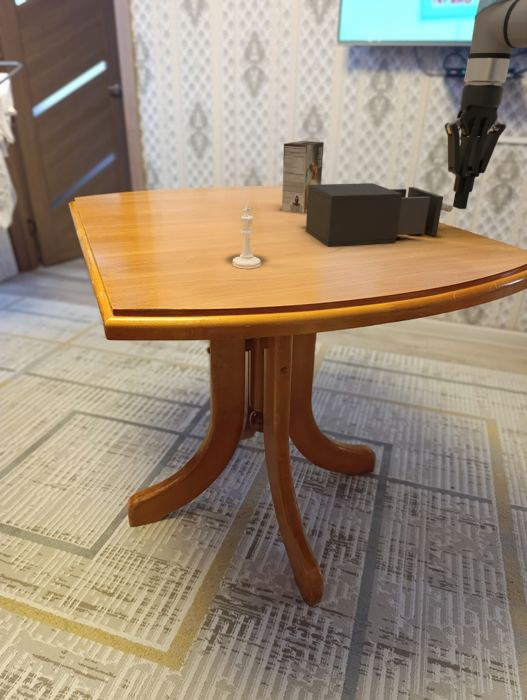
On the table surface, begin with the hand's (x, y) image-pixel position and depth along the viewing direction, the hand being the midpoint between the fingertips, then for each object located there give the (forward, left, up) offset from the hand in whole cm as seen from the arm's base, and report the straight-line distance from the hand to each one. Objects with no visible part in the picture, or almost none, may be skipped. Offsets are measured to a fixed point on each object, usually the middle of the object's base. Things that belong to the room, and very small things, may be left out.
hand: (459, 207), depth 110 cm
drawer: (+10, +9, -4) cm, 14 cm away
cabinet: (+19, +16, -5) cm, 26 cm away
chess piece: (+30, +43, -5) cm, 53 cm away
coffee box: (+37, -2, -5) cm, 37 cm away
